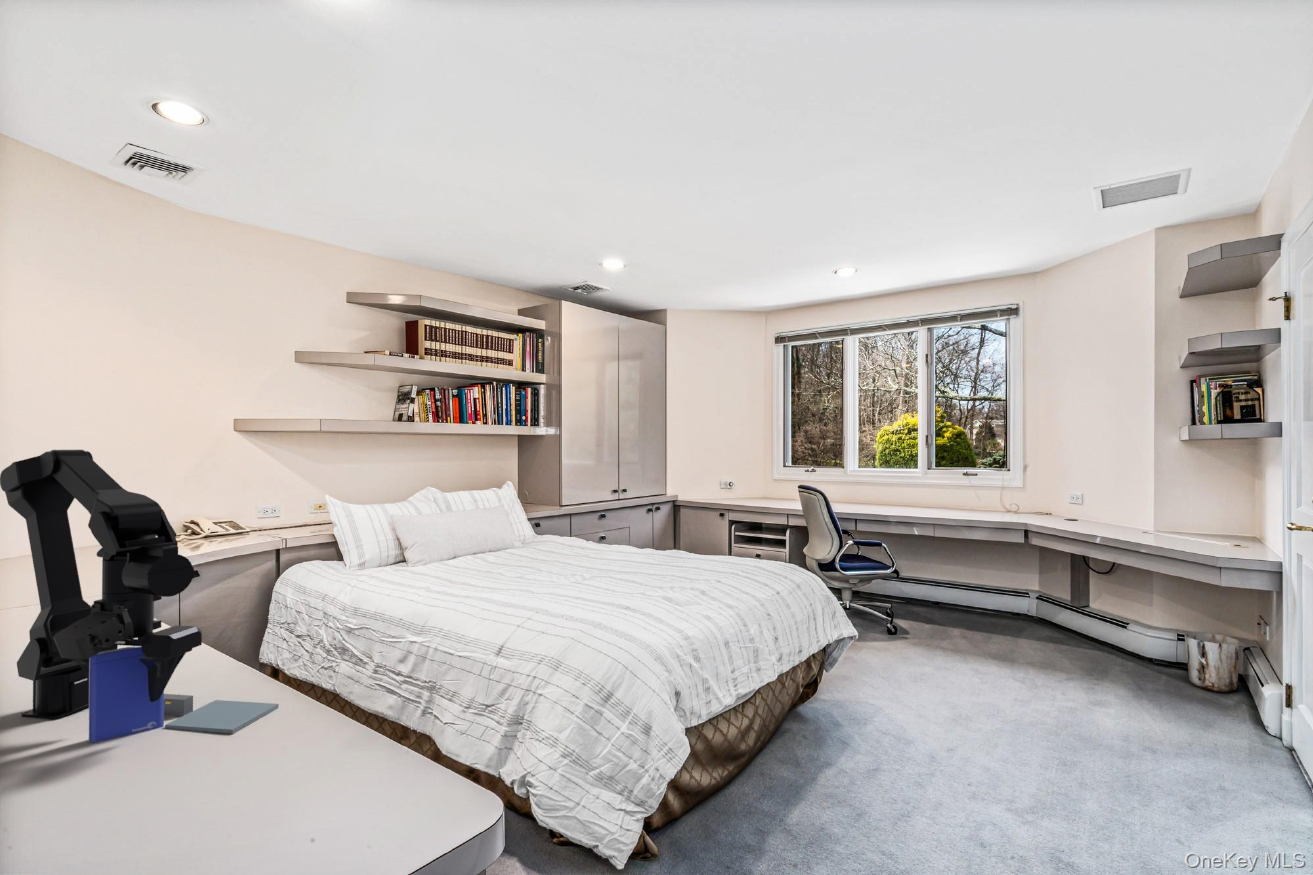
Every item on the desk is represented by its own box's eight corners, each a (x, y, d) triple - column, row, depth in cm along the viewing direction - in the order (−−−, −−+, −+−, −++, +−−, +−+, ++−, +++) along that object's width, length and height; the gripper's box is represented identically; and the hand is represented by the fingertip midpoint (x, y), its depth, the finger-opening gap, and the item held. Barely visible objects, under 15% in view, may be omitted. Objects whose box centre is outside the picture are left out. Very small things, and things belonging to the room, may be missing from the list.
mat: (164, 728, 92) (164, 724, 92) (215, 703, 101) (215, 699, 101) (233, 733, 91) (233, 729, 91) (278, 707, 100) (278, 703, 100)
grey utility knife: (114, 712, 98) (114, 696, 98) (125, 707, 100) (126, 691, 100) (182, 716, 96) (182, 700, 96) (192, 711, 98) (193, 695, 98)
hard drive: (164, 727, 93) (164, 642, 93) (89, 747, 87) (90, 656, 87) (162, 724, 94) (162, 640, 94) (88, 743, 88) (88, 653, 88)
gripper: (7, 601, 84) (6, 719, 83) (132, 606, 81) (131, 728, 81) (93, 582, 95) (92, 687, 94) (205, 586, 92) (204, 694, 92)
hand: (127, 699), depth 90 cm, fingers open, 8 cm apart
